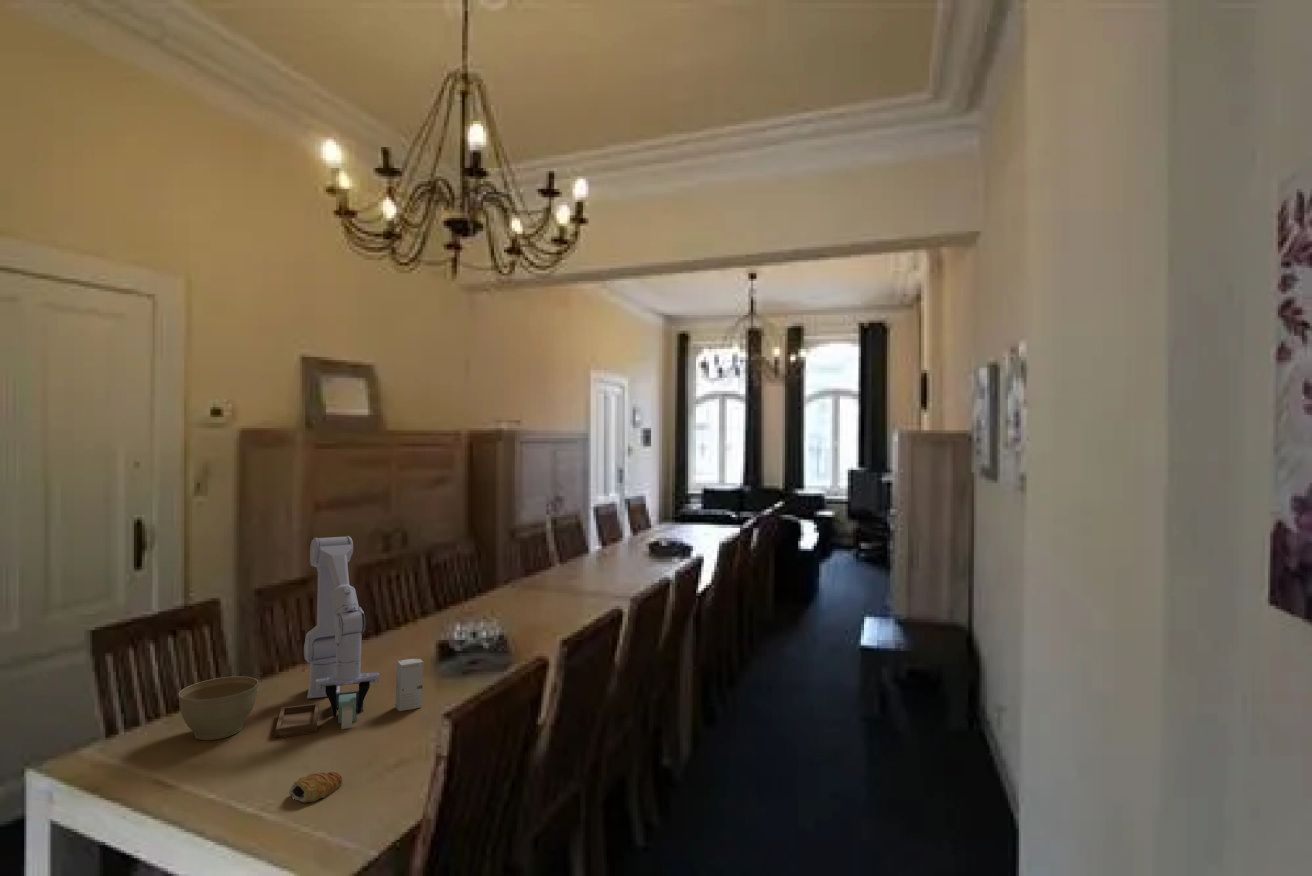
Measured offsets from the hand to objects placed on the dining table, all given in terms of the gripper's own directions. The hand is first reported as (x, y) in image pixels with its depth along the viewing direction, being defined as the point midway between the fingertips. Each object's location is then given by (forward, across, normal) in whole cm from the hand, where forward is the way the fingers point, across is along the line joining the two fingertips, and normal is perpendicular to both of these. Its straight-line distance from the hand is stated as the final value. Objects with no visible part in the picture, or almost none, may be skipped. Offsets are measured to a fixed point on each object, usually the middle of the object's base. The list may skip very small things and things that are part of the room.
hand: (347, 713), depth 172 cm
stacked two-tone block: (+1, 0, -1) cm, 2 cm away
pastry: (+2, -6, -37) cm, 38 cm away
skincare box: (+2, +15, +3) cm, 15 cm away
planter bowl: (+2, -28, +2) cm, 28 cm away
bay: (+1, 0, +7) cm, 7 cm away
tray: (+1, -11, +1) cm, 11 cm away
